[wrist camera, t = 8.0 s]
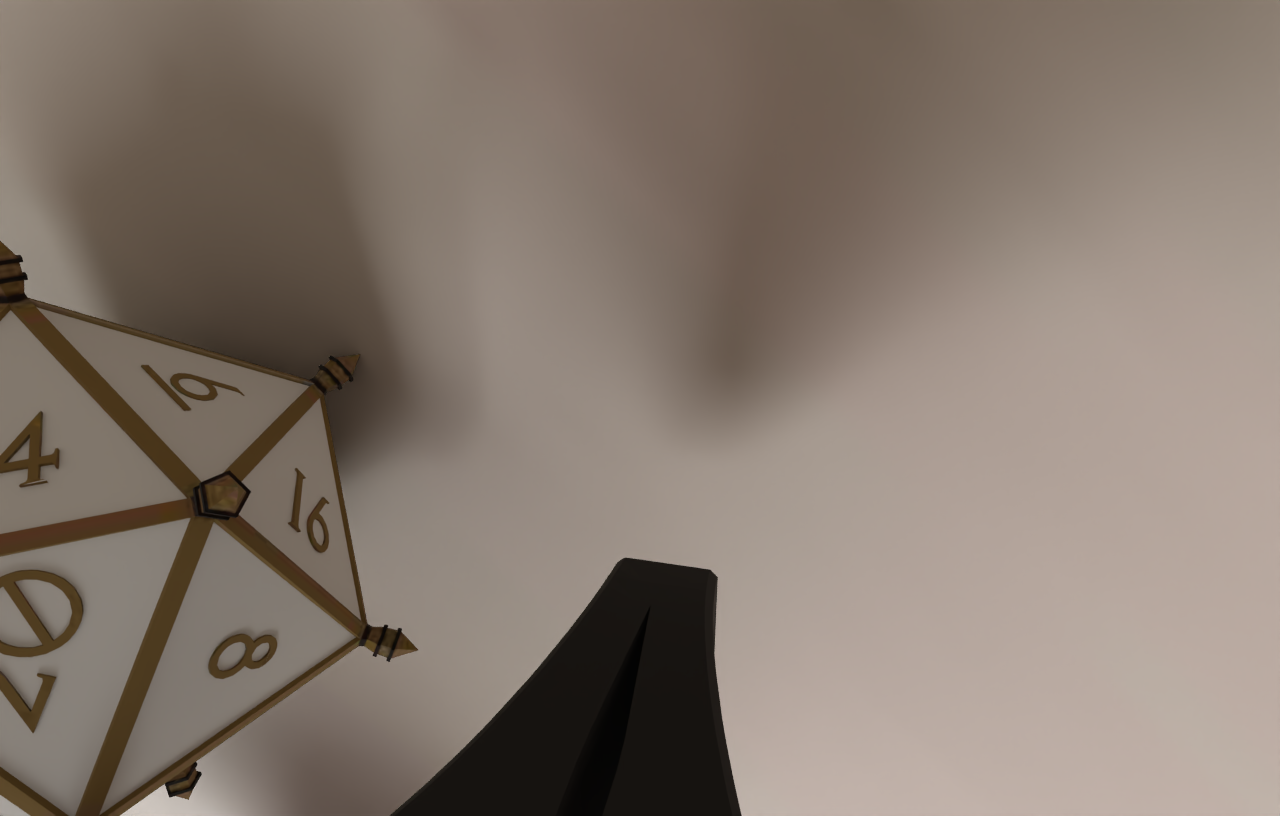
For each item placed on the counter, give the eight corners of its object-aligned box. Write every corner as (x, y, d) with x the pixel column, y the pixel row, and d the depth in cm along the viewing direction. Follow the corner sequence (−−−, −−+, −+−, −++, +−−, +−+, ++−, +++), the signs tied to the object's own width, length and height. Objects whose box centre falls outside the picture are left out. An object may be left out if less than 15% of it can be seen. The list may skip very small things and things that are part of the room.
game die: (307, 261, 17) (-345, -17, 8) (581, 504, 15) (165, 540, 6) (84, 563, 18) (-779, 658, 8) (318, 834, 16) (-459, 1378, 6)
